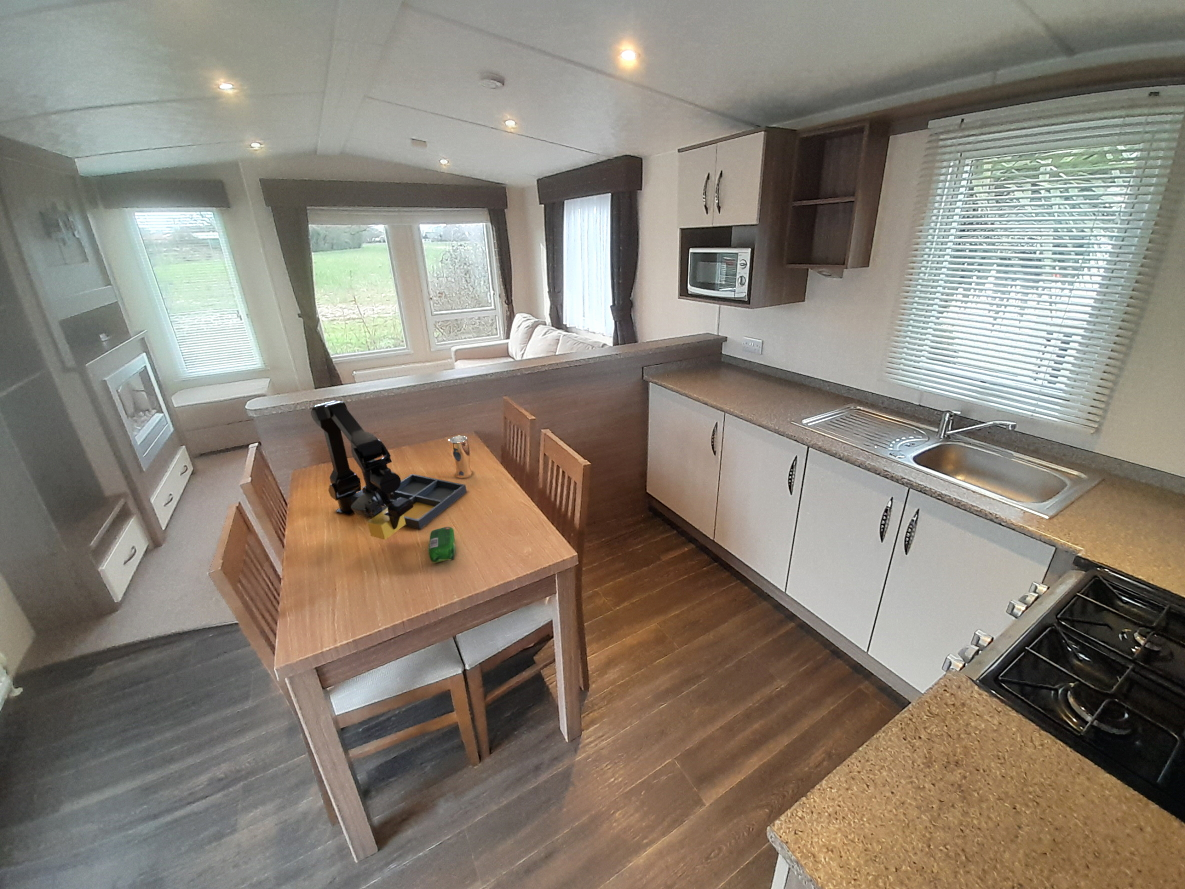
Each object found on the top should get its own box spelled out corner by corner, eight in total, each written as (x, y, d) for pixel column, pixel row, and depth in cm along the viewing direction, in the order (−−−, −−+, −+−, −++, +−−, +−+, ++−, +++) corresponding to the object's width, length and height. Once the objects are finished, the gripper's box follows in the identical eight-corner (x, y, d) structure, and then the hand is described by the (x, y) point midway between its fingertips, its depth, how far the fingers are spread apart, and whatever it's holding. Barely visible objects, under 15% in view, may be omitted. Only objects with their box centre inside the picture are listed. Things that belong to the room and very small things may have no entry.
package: (370, 536, 140) (366, 521, 138) (392, 520, 147) (388, 506, 145) (385, 540, 138) (381, 525, 136) (405, 524, 145) (402, 510, 143)
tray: (362, 514, 159) (360, 506, 158) (413, 481, 180) (411, 473, 178) (420, 529, 151) (418, 521, 149) (466, 492, 171) (465, 484, 170)
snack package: (430, 571, 132) (426, 556, 130) (432, 539, 146) (429, 524, 143) (456, 567, 133) (453, 552, 131) (455, 535, 147) (453, 521, 145)
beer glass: (477, 472, 184) (471, 437, 178) (463, 480, 179) (457, 444, 172) (464, 468, 187) (458, 433, 181) (450, 476, 182) (444, 440, 176)
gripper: (328, 488, 132) (342, 535, 138) (379, 500, 125) (391, 549, 132) (360, 470, 141) (372, 515, 148) (409, 481, 134) (419, 527, 141)
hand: (387, 526), depth 142 cm, fingers closed on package, 5 cm apart
